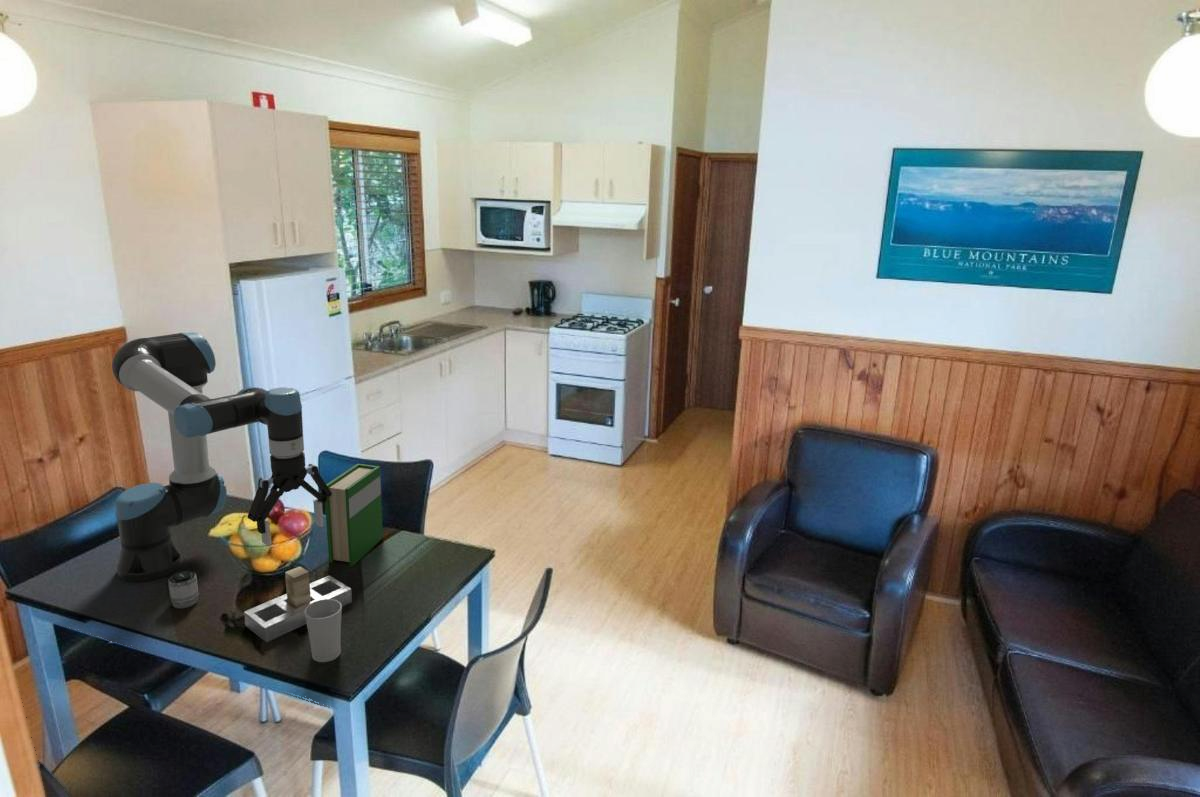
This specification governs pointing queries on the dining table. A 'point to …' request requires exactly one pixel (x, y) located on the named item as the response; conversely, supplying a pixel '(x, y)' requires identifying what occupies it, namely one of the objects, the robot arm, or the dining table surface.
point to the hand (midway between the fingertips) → (293, 534)
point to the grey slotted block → (292, 609)
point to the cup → (324, 629)
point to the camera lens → (183, 589)
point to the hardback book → (354, 513)
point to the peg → (297, 587)
